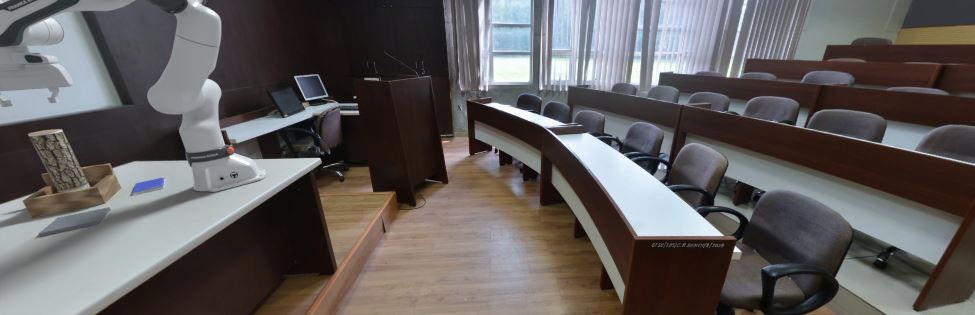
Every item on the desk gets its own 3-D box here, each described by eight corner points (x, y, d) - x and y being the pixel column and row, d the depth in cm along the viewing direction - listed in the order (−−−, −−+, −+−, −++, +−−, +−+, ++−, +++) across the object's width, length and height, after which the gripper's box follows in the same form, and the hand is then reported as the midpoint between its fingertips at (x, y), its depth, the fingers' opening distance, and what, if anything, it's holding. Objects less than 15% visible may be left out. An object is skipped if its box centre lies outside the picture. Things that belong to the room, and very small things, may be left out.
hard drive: (163, 185, 120) (164, 177, 129) (131, 192, 115) (135, 183, 124) (164, 189, 121) (165, 180, 130) (133, 196, 116) (136, 186, 124)
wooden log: (74, 206, 108) (37, 134, 100) (59, 205, 110) (21, 134, 101) (100, 197, 115) (67, 129, 106) (86, 196, 116) (53, 128, 108)
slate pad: (110, 209, 105) (109, 207, 105) (97, 224, 96) (95, 221, 96) (59, 220, 99) (58, 217, 99) (40, 236, 91) (38, 233, 90)
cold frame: (121, 187, 123) (110, 163, 119) (105, 203, 110) (92, 176, 107) (57, 199, 114) (43, 173, 111) (32, 217, 102) (15, 189, 98)
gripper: (-60, 60, 89) (-31, 110, 93) (54, 56, 99) (75, 101, 104) (-43, 60, 94) (-16, 107, 98) (64, 56, 104) (83, 99, 109)
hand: (31, 104), depth 101 cm, fingers open, 8 cm apart
